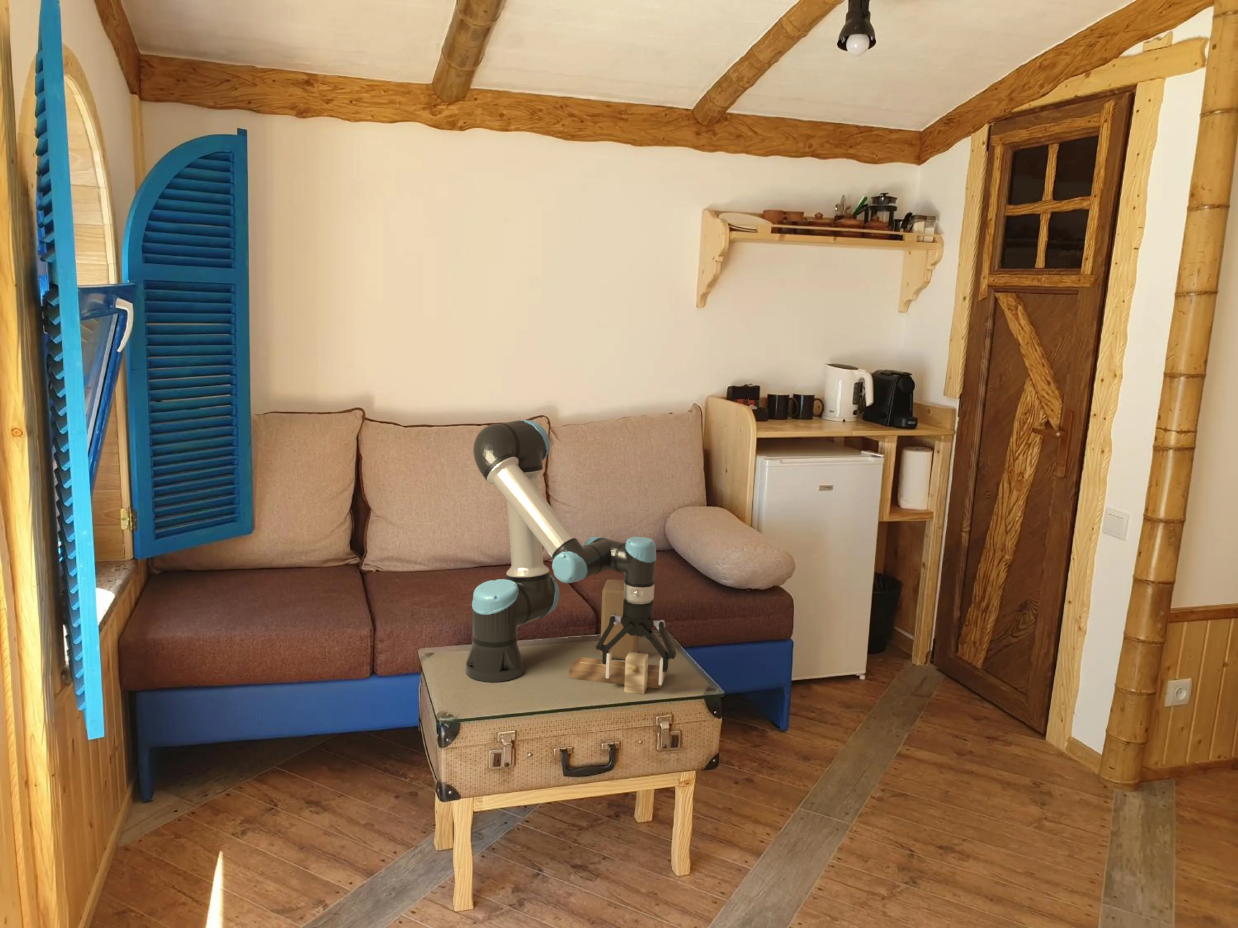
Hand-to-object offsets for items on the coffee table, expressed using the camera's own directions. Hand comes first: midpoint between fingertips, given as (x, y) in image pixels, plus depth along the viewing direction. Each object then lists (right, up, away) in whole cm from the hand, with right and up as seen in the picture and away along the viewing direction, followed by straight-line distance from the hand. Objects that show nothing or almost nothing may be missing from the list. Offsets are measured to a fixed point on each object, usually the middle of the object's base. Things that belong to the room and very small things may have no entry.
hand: (634, 679), depth 249 cm
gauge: (+1, -2, +5) cm, 5 cm away
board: (-4, -1, +8) cm, 9 cm away
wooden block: (-4, +2, +25) cm, 25 cm away
